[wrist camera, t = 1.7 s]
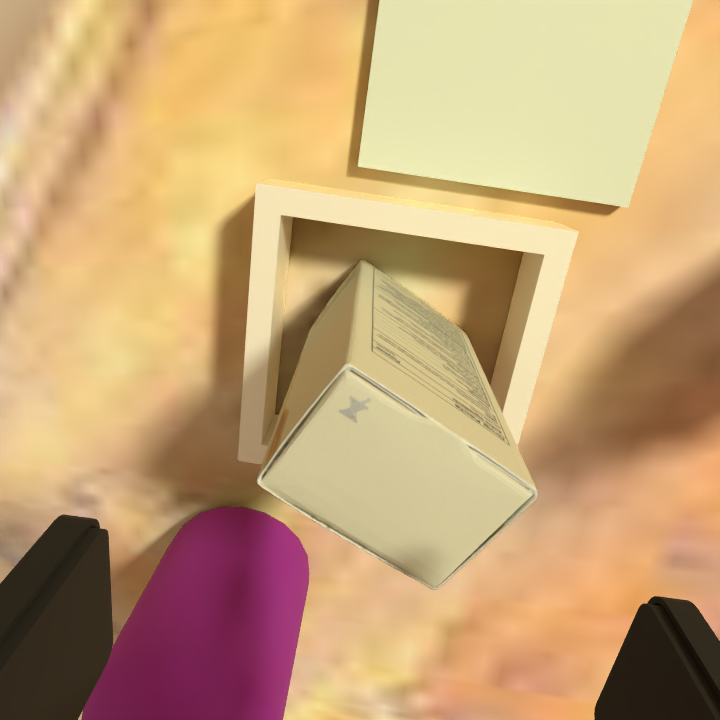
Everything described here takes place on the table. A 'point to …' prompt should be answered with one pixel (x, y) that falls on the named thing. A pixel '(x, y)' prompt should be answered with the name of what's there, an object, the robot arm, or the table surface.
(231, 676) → the beverage can
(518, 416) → the collar
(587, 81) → the mat
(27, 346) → the table surface
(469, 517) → the skincare box
